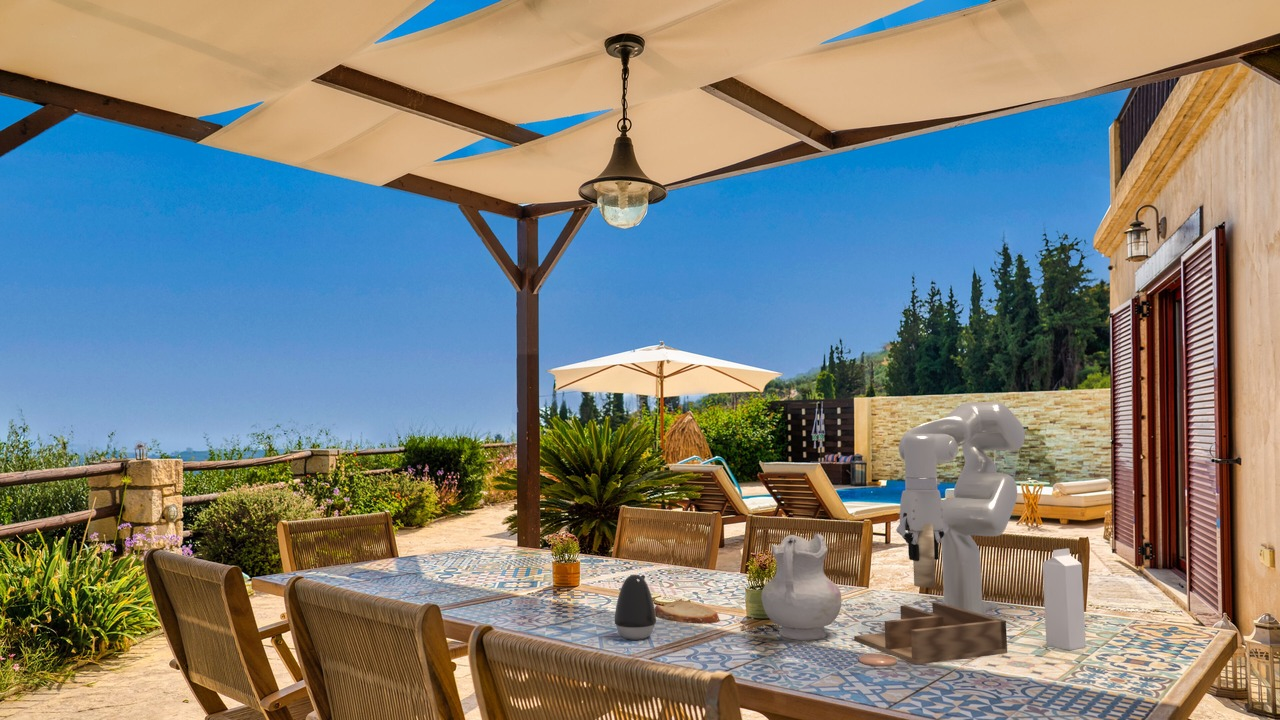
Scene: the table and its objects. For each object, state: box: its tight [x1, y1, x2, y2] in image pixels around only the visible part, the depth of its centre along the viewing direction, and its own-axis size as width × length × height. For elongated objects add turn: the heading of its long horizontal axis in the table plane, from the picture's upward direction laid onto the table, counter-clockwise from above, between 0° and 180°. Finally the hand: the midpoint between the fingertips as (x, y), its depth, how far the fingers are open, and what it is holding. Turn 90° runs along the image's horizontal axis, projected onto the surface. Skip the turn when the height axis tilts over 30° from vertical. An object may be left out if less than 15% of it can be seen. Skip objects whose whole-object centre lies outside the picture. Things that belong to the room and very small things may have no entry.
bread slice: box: [654, 598, 721, 625], centre depth 242 cm, size 18×18×4 cm
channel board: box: [853, 601, 1008, 665], centre depth 206 cm, size 24×24×7 cm
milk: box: [1042, 547, 1087, 651], centre depth 205 cm, size 6×6×22 cm
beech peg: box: [912, 524, 936, 588], centre depth 218 cm, size 5×5×15 cm
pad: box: [858, 653, 898, 667], centre depth 193 cm, size 8×8×1 cm
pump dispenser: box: [614, 574, 657, 641], centre depth 219 cm, size 10×10×15 cm
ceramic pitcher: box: [760, 532, 842, 641], centre depth 218 cm, size 22×20×25 cm
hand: (923, 558), depth 217 cm, fingers closed on beech peg, 5 cm apart
